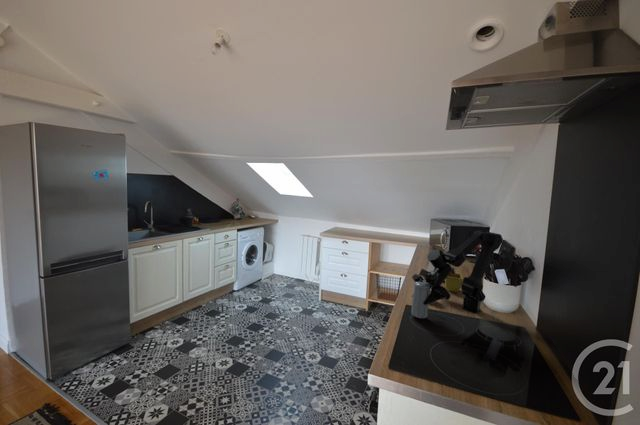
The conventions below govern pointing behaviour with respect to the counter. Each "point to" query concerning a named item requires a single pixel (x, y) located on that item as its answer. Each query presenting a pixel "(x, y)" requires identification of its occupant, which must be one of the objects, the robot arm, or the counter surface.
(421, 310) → the tumbler
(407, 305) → the counter surface
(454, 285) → the flower pot
